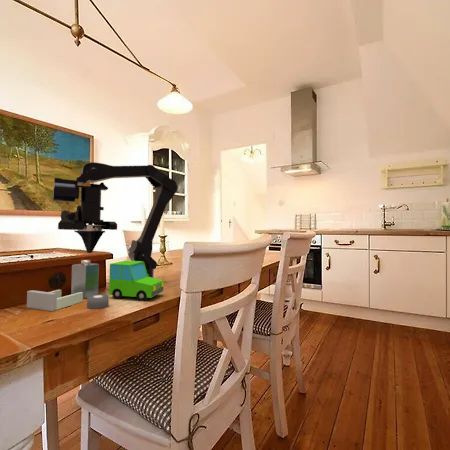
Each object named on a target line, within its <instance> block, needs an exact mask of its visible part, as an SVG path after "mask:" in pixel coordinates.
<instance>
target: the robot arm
mask: <svg viewBox="0 0 450 450" xmlns="http://www.w3.org/2000/svg"><path fill="white" fill-rule="evenodd" d="M129 178H130V179H132V178H146V179H147V181H148V182H149V184H150V185H151V186H152V187H153V188H155V191H154V202H153V204H152V206H151V209H150V212H149V214H148V217H147V218H146V221H145V224H144V227H143V228H142V231H141V234H140V236H139V238H138V239H137V240H134V239H133V240H131V243H130V246H129V248H128V250H127V251H128V257H129V261H144V264H145V268H146V271H147V274H148V275H149V276H148V277H152V278H154V271H155V269H157V265H158V262H157V261H156V260H155V259H154V258H153V257H152V253H153V240H154V238H155V235H156V232H157V229H158V228H159V225H160V222H161V220H162V218H163V214H164V212H165V210H166V207H167V205H168V203H169V202H170V201H171V200H172V199H173V197H174V196H175V194H176V193H177V191H178V187H179V186H178V184H177V182H176V181H175V180H174V179H172V178H170V177H169V176H168V175H166V174H165V173H163V172H162V171H161V170H158V168H157V167H156V166H154V165H152V164H147V165H111V164H110V165H109V164H105V163H101V162H95V161H90V162H87V163H85V165H83V166H82V168H81V170H80V176H77V177H76V178H75V179H64V178H60V177H55V178H54V179H53V189H52V201H53V202H64V203H74V202H75V201H76V200H79V199H80V205H77V207H76V211H70V210H62V211H61V212H60V220H59V222H58V223H57V230H63V231H66V230H70V231H74V233H76V234H78V235H79V236H80V238H81V239H82V242H83V244H84V248H85V250H86V253H87V254H92V253H93V252H94V250H95V248H96V245H97V244H98V243H99V241H100V239H101V237H102V236H103V234H104V233H106V230H110V231H112V230H114V231H117V230H118V223H117V222H116V221H107V220H106V221H104V219H101V215H102V214H101V213H102V212H101V211H104V210H105V207H104V206H101V205H102V191H104V192H105V191H107V190H109V187H108V186H107V185H106V184H105V183H104V181H106V180H111V179H129ZM98 182H100V183H99V184H98ZM86 183H89V184H88V185H85V184H86Z"/></svg>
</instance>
